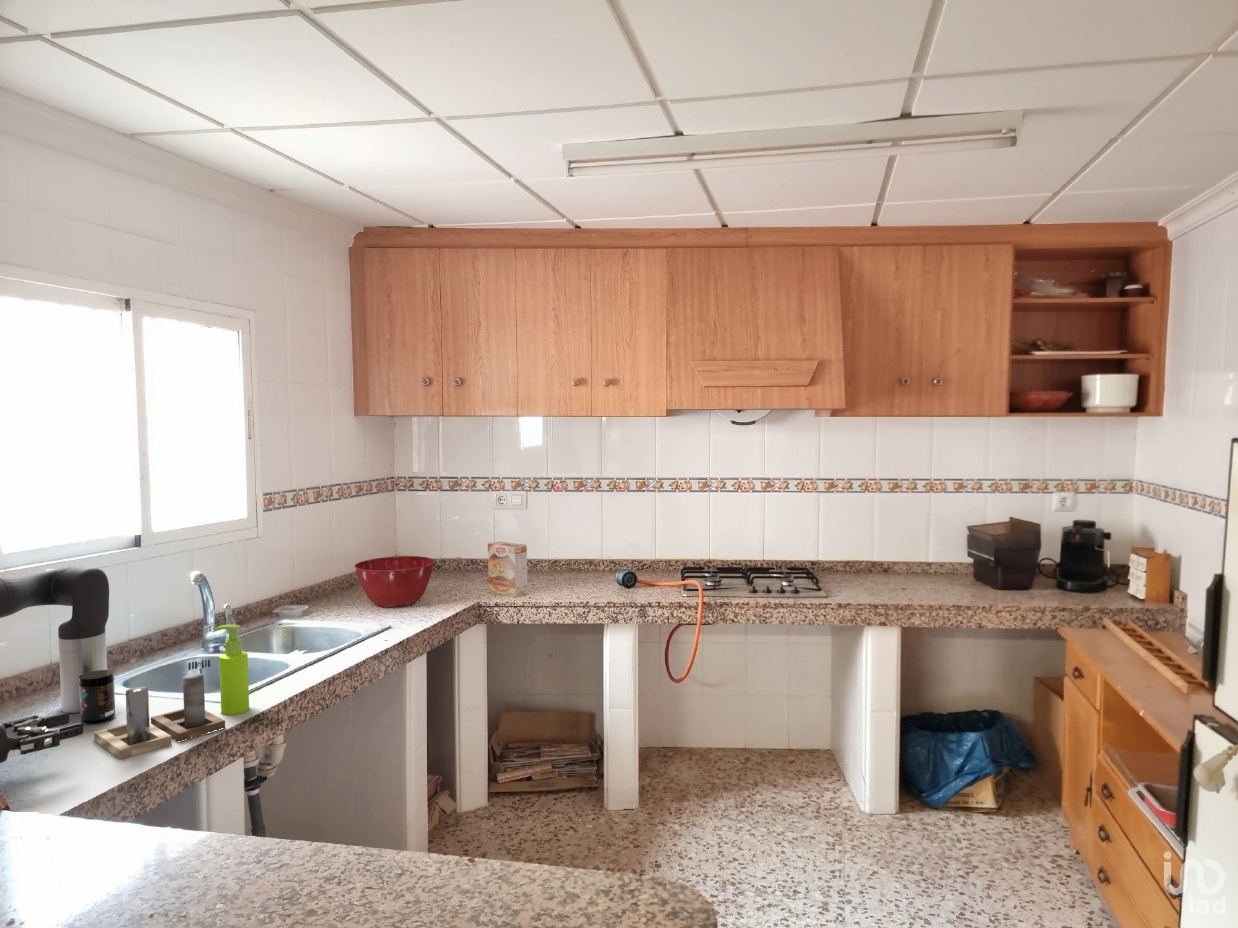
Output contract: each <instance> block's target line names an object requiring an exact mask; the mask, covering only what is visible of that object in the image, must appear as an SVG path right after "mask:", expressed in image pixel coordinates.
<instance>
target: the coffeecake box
mask: <svg viewBox="0 0 1238 928" xmlns="http://www.w3.org/2000/svg"><path fill="white" fill-rule="evenodd" d="M527 547H528V545H527V544H522V543H515V542H508V541H507V542H506V541H495V542H494V541H492V542H488V543H487V577H488V579H487V580H488V583H487V584H488V586H487V587H488V592H487V593H489V594H490V593H491V594H494V595H495V594H496V595H500V596H501V595H502V596H507V597H512V598H517V597H521V596H525V595H528V550H527V549H528V548H527Z"/></svg>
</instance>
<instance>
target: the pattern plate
mask: <svg viewBox="0 0 1238 928" xmlns="http://www.w3.org/2000/svg"><path fill="white" fill-rule="evenodd" d="M182 690H183V691H182V693H183V708H181V709H177V710H176V709H175V710H174V711H170V712H166V713H161V714H158V715H154V716H151V717H150V723H151V724H152V725H154V726H156V727H157V728H159V729H161V730H162V731H164V732H166V733H167V734H169V735H171V739H173V738H174V740H175V739H176V740H175V741H176V742H178V741H181V742H183V741H182V740H185V739H188V740H190V739H189V738H191V737H195V736H199V737H201V736H200V735H202V734H205V735H207V734H206V733H208V732H212V731H214V730H219V729H221V728H225V729H226V720H225V719H223V718H221V717H219V716H217V715H215V714H213V713H212V712H209V711H207V710H206V704H205V703H206V702H205V675H204V674H203V673H191V674H187V675H185V676H183V677H182ZM219 731H220V730H219ZM212 733H213V732H212ZM202 736H203V735H202ZM195 738H196V737H195ZM185 741H186V740H185Z"/></svg>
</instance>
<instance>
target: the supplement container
mask: <svg viewBox="0 0 1238 928" xmlns="http://www.w3.org/2000/svg"><path fill="white" fill-rule="evenodd" d="M115 693H116V692H115V671H114V670H111V669H107V670H98V671H92V672H88V673H84V674H82V675H80V676H79V694H80V712H79V714H80V716H79V717H80V723H82V724H83V725H98V724H99V725H100V724H103V723H106V722H109V721H111V720H113V719H114V718H115V716H116V697H115V695H116V694H115Z"/></svg>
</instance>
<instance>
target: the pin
mask: <svg viewBox="0 0 1238 928" xmlns="http://www.w3.org/2000/svg"><path fill="white" fill-rule="evenodd" d="M149 699H150V697H149V687H147V686H136V687H131V688H129V689H125V710H126V711H125V712H126V713H125V714H126V724H127V733H126V734H127V742H128V745H129V746H131V745H134V744H138V743H141V742H145V741H149V740H150V724H149V723H150V706H149V705H150V703H149V702H150V701H149Z"/></svg>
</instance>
